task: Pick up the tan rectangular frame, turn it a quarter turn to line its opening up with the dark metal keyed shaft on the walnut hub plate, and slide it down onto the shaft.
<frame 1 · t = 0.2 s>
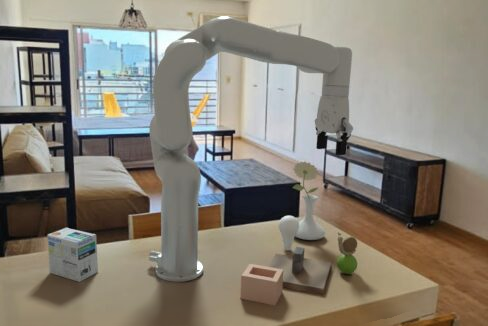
hand: (330, 151, 127), 31 cm above the table, tool pointing down, fingers open, 9 cm apart
lightbulb: (287, 250, 133), on the table
flower in vase: (305, 236, 146), on the table
tan rectangular frame: (261, 295, 106), on the table
light bulb box: (73, 273, 114), on the table
hub plate: (297, 274, 118), on the table
snail figurine: (344, 273, 120), on the table
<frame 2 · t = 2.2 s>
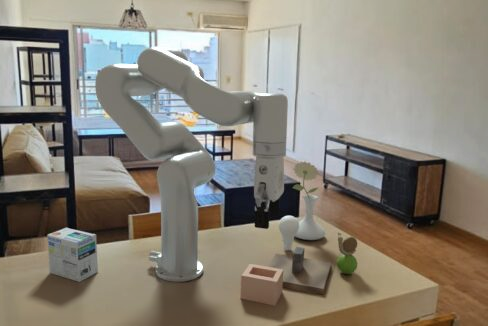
hand: (267, 221, 102), 19 cm above the table, tool pointing down, fingers open, 9 cm apart
nothing on the table moved.
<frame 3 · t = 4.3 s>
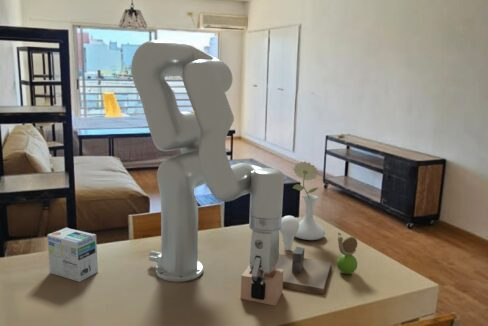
hand: (262, 290, 106), 1 cm above the table, tool pointing down, fingers closed on tan rectangular frame, 6 cm apart
tan rectangular frame: (261, 295, 106), on the table, touching gripper
everything else where it was.
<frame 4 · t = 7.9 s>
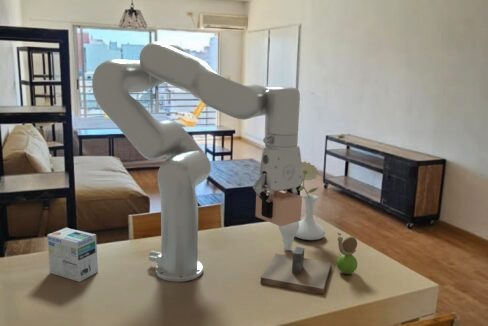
hand: (278, 213, 105), 20 cm above the table, tool pointing down, fingers closed on tan rectangular frame, 6 cm apart
tan rectangular frame: (277, 218, 106), point 19 cm above the table, touching gripper
everything else where it was.
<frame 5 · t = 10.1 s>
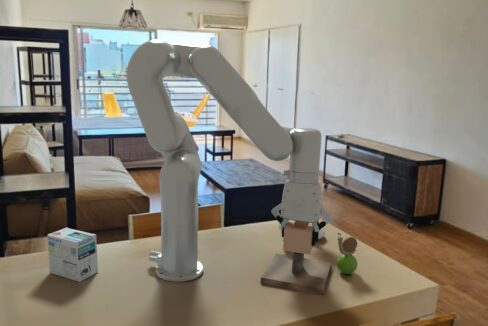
hand: (299, 241, 116), 9 cm above the table, tool pointing down, fingers closed on tan rectangular frame, 6 cm apart
tan rectangular frame: (299, 246, 116), point 8 cm above the table, touching gripper
everything else where it was.
when the fingers open (4 cm above the table, at t = 11.8 s): tan rectangular frame stays where it is, resting on hub plate.
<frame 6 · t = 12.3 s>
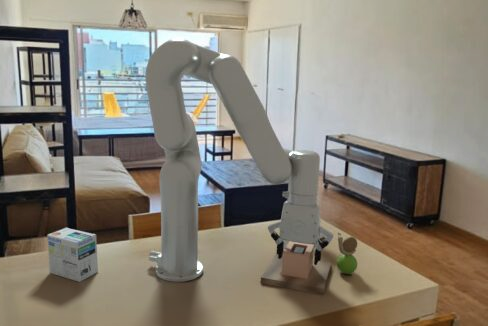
hand: (298, 259, 117), 4 cm above the table, tool pointing down, fingers open, 9 cm apart
tan rectangular frame: (297, 269, 117), point 1 cm above the table, touching hub plate
everything else where it was.
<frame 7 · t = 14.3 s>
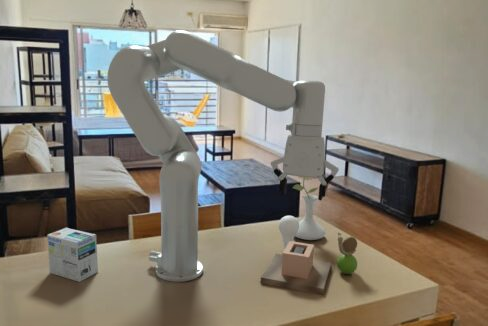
hand: (301, 196, 113), 22 cm above the table, tool pointing down, fingers open, 9 cm apart
nothing on the table moved.
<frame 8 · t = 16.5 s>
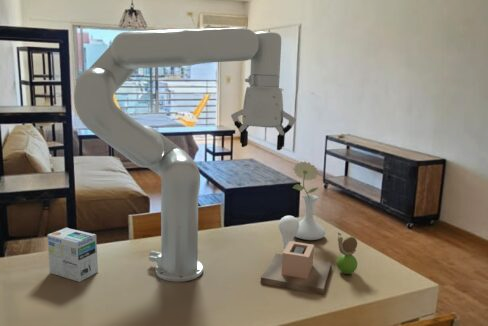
hand: (261, 147, 116), 33 cm above the table, tool pointing down, fingers open, 9 cm apart
nothing on the table moved.
at the end: tan rectangular frame 0.1 cm off-centre on the hub plate, point 1.5 cm above the hub plate's base; tan rectangular frame tilted 0°; the gripper is holding nothing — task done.
